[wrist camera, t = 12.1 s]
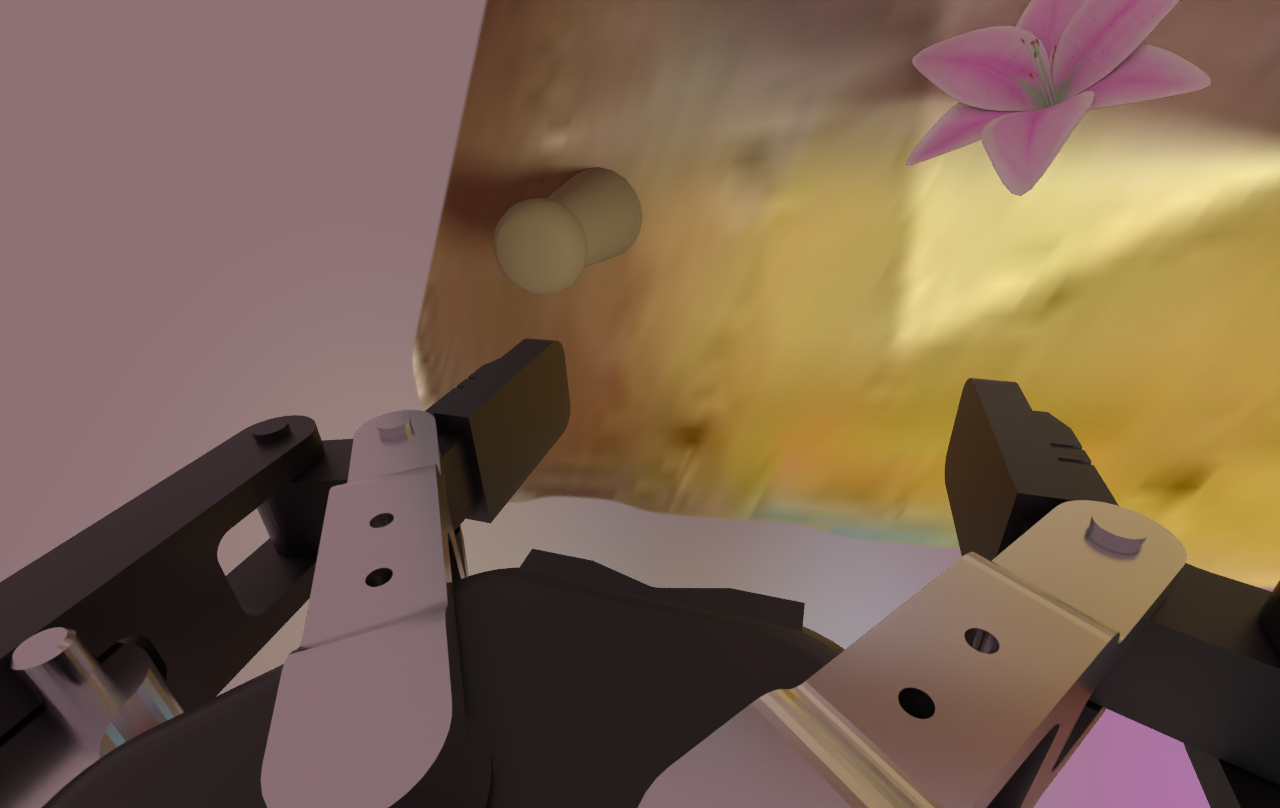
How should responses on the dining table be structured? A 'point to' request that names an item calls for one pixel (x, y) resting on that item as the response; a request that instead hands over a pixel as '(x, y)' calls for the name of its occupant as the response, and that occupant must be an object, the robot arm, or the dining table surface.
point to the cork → (567, 231)
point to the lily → (1047, 80)
